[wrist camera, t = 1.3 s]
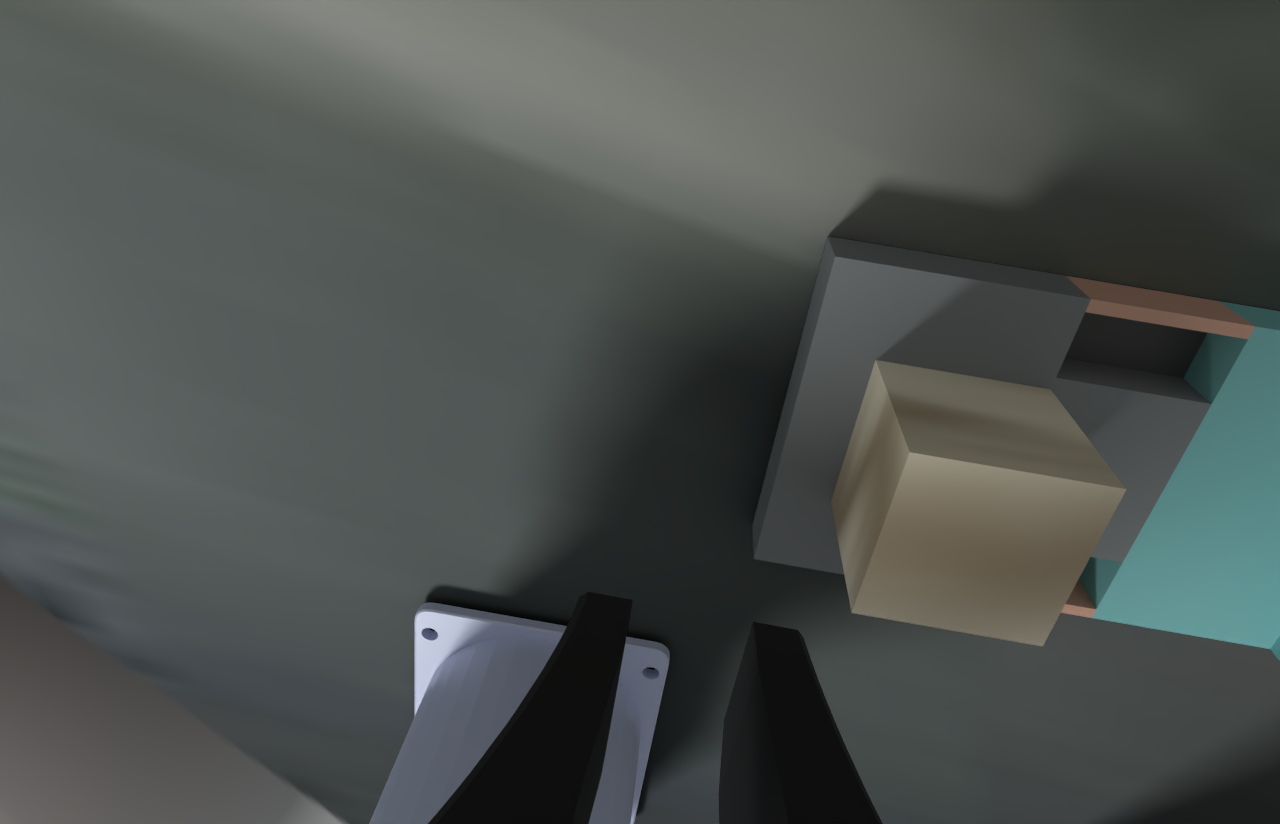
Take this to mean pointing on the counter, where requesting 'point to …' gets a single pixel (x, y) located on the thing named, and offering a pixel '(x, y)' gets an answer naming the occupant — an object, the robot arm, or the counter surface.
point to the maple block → (968, 503)
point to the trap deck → (1094, 397)
